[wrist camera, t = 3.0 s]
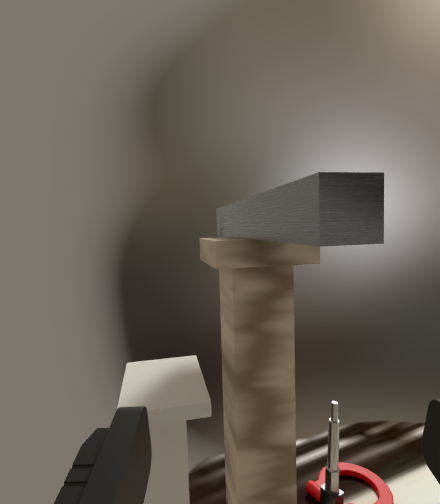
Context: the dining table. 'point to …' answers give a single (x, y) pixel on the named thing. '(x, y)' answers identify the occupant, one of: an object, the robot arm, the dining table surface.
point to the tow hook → (342, 471)
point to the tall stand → (258, 364)
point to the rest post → (167, 419)
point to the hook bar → (311, 212)
